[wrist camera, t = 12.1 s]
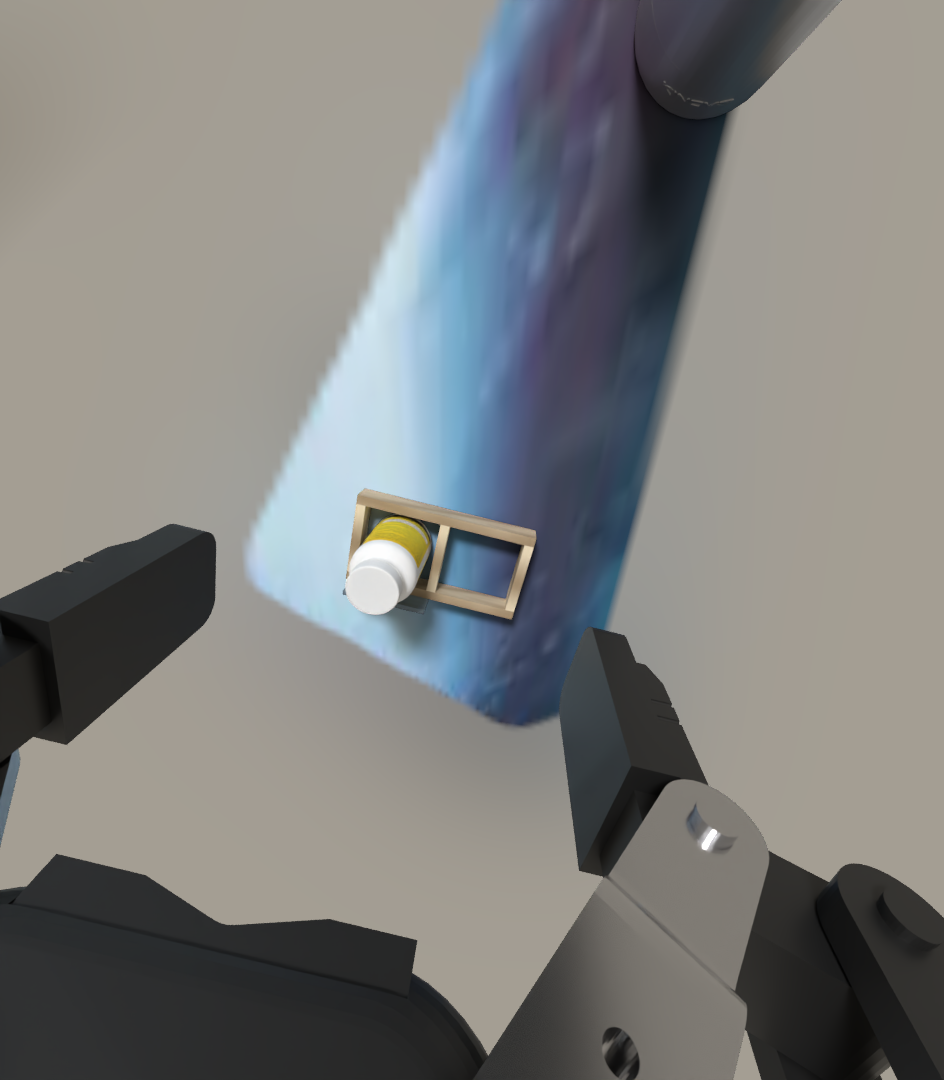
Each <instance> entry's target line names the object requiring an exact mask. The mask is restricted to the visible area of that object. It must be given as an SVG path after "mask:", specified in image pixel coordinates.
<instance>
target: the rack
mask: <svg viewBox="0 0 944 1080" xmlns="http://www.w3.org/2000/svg"><path fill="white" fill-rule="evenodd" d="M371 508H375V509H379V510H383V511H388V512H392V513H396V514H400V515H404V516H408V517H412V518H416V519H420V520H424V521H428V522H432V523H436V524H440V530H439V534H438V539H437V543H436V548H435V553H434V557H433V562H432V566H431V571H430V576H429V580H426V579H422V578H419V579H418V581H417V584H416V586H415V588H414V590H413V591H412V593H411V594H410V595H409V596H408V597H407V598H406V599H404V600H402V601H400V602H398V603H397V604H396V606H395V607H396V608H400V609H404V610H408V611H412V612H416V613H420V614H424V611H425V609H426V606H427V603H428V600H429V599H430V600H434V601H438V602H442V603H446V604H450V605H455V606H459V607H463V608H467V609H471V610H475V611H479V612H483V613H487V614H491V615H495V616H499V617H503V618H508V619H512V617H513V613H514V610H515V607H516V604H517V600H518V597H519V594H520V591H521V587H522V584H523V581H524V578H525V574H526V571H527V568H528V565H529V561H530V558H531V555H532V552H533V549H534V545H535V542H536V531H535V530H531V529H527V528H523V527H519V526H515V525H511V524H506V523H502V522H498V521H494V520H490V519H486V518H482V517H478V516H474V515H470V514H466V513H462V512H458V511H454V510H450V509H446V508H442V507H438V506H434V505H430V504H425V503H421V502H417V501H413V500H409V499H405V498H401V497H397V496H393V495H389V494H385V493H381V492H377V491H373V490H369V489H364V490H363V491H361V492H360V493H359V494H358V496H357V503H356V510H355V517H354V524H353V532H352V539H351V546H350V553H349V560H348V567H347V574H346V579H347V578H348V576H349V565H350V561H351V558H352V556H353V555H354V553H355V552H356V550H357V549H358V548H359V546H360V545H361V544H362V543H363V542H364V540H365V539H366V537H367V531H368V524H369V518H370V511H371ZM451 527H452V528H456V529H461V530H465V531H469V532H473V533H477V534H481V535H485V536H489V537H493V538H497V539H501V540H505V541H509V542H513V543H517V544H521V545H522V546H521V549H520V552H519V556H518V559H517V562H516V566H515V569H514V573H513V576H512V579H511V583H510V586H509V589H508V593H507V596H506V599H503V598H499V597H495V596H491V595H487V594H483V593H479V592H475V591H471V590H467V589H463V588H459V587H454V586H450V585H446V584H442V583H438V581H439V577H440V573H441V568H442V564H443V560H444V555H445V551H446V546H447V542H448V538H449V533H450V529H451ZM343 595H346V591H345V589H344V590H343Z"/></svg>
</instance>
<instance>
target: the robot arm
mask: <svg viewBox="0 0 944 1080" xmlns="http://www.w3.org/2000/svg"><path fill="white" fill-rule="evenodd" d="M841 1H842V0H640V4H639V7H638V11H637V17H636V25H635V34H634V36H635V55H636V60H637V64H638V68H639V73H640V75H641V77H642V80H643V82H644V84H645V86H646V88H647V90H648V91H649V93H650V94H651V95H652V97H653V98H654V99H655V101H656V102H657V103H658V104H660V105H661V106H662V107H663V108H665V109H666V110H667V111H668V112H670V113H673V114H675V115H678V116H680V117H683V118H689V119H698V120H699V119H706V118H713V117H717V116H719V115H722V114H724V113H727V112H729V111H731V110H733V109H735V108H736V107H738V106H739V105H741V104H742V103H744V102H745V101H747V100H748V99H749V98H750V97H751V96H752V95H753V94H754V93H755V92H756V91H757V90H758V89H759V88H760V87H761V86H762V85H763V84H764V83H765V82H766V81H767V80H768V79H769V78H770V77H771V76H772V75H773V73H774V72H775V71H776V70H777V69H778V68H779V67H780V66H781V65H782V64H783V63H784V62H785V61H786V60H787V58H788V57H789V56H790V55H791V54H792V53H793V52H794V51H795V50H796V49H797V48H798V47H799V46H800V45H801V44H802V43H803V42H804V41H805V40H806V38H807V37H808V36H809V35H810V34H811V33H812V32H813V31H814V30H815V28H817V26H818V25H819V24H820V23H821V22H822V21H823V20H824V19H825V18H826V17H827V16H828V15H829V13H830V12H831V11H832V10H833V9H834V8H835V7H836V6H837V5H838V4H839V3H840V2H841ZM215 570H216V541H215V538H214V536H213V535H212V534H211V533H209V532H205V531H201V530H197V529H193V528H189V527H185V526H181V525H177V524H169V525H167V526H165V527H163V528H161V529H159V530H157V531H155V532H153V533H151V534H149V535H147V536H145V537H143V538H141V539H139V540H136V541H132V542H127V543H124V544H119V545H115V546H111V547H107V548H105V549H103V550H101V551H99V552H97V553H95V554H93V555H91V556H89V557H87V558H84V560H83V562H80V561H78V562H76V563H74V564H72V565H70V566H68V567H66V568H63V571H62V572H55V573H53V574H51V575H49V576H47V577H45V578H43V579H40V580H39V581H36V582H34V583H32V584H30V585H28V586H26V587H24V588H22V589H19V590H17V591H15V592H13V593H11V594H9V595H7V596H5V597H3V598H1V599H0V845H1V841H2V837H3V833H4V829H5V825H6V820H7V817H8V812H9V808H10V804H11V800H12V796H13V791H14V787H15V783H16V779H17V775H18V771H19V766H20V754H19V750H18V748H19V747H21V746H22V745H23V744H24V743H26V742H27V741H28V740H29V739H31V738H32V737H36V738H40V739H45V740H49V741H53V742H57V743H61V744H65V745H67V744H68V743H69V742H70V741H72V740H73V739H74V738H75V737H76V736H77V735H78V734H80V733H81V732H82V731H83V730H84V729H85V728H86V727H88V726H89V725H90V724H91V723H92V722H93V721H94V720H96V719H97V718H98V717H99V716H100V715H101V714H102V713H104V712H105V711H106V710H107V709H108V708H109V707H110V706H112V705H113V704H114V703H115V702H116V701H117V700H118V699H120V698H121V697H122V696H123V695H124V694H125V693H126V692H128V691H129V690H130V689H131V688H132V687H133V686H134V685H136V684H137V683H138V682H139V681H140V680H141V679H142V678H144V677H145V676H146V675H147V674H148V673H149V672H150V671H151V670H153V669H154V668H155V667H156V666H157V665H158V664H160V663H161V662H162V661H163V660H164V659H165V658H166V657H167V656H169V655H170V654H171V653H172V652H173V651H174V650H176V649H177V648H178V647H179V646H180V645H181V644H182V643H183V642H185V641H186V640H187V639H188V638H189V637H190V636H191V635H193V634H194V633H195V632H196V631H197V630H198V629H200V628H201V627H202V626H203V625H204V623H205V622H206V621H207V619H208V618H209V616H210V614H211V612H212V609H213V606H214V602H215V575H216V571H215ZM671 705H672V703H671V701H670V699H669V696H668V694H667V692H666V690H665V688H664V685H663V684H662V682H660V680H659V679H658V678H657V677H656V676H655V675H654V674H653V673H652V671H651V670H650V669H649V668H648V667H647V666H646V665H644V664H640V663H636V661H635V659H634V656H633V653H632V651H631V648H630V646H629V643H628V641H627V639H626V637H625V636H624V635H621V634H617V633H613V632H609V631H605V630H601V629H597V628H593V627H588V628H587V629H586V630H585V631H584V633H583V635H582V638H581V640H580V643H579V646H578V648H577V651H576V653H575V656H574V659H573V661H572V664H571V666H570V669H569V672H568V674H567V677H566V679H565V682H564V685H563V688H562V692H561V697H560V706H559V714H560V723H561V731H562V739H563V747H564V755H565V762H566V770H567V778H568V786H569V794H570V802H571V809H572V818H573V826H574V833H575V842H576V850H577V857H578V866H579V871H582V872H586V873H591V874H595V875H599V876H603V880H602V881H601V883H600V884H599V886H598V887H597V889H596V890H595V892H594V893H593V895H592V897H591V898H590V899H589V901H588V903H587V904H586V906H585V907H584V909H583V910H582V912H581V914H580V915H579V916H578V918H577V920H576V921H575V923H574V924H573V926H572V927H571V929H570V930H569V932H568V933H567V935H566V937H565V938H564V940H563V941H562V943H561V944H560V946H559V947H558V949H557V950H556V952H555V954H554V955H553V957H552V958H551V960H550V962H549V963H548V964H547V966H546V968H545V969H544V971H543V972H542V974H541V975H540V977H539V978H538V980H537V982H536V983H535V985H534V986H533V988H532V989H531V991H530V992H529V994H528V995H527V997H526V999H525V1000H524V1002H523V1003H522V1005H521V1006H520V1008H519V1009H518V1011H517V1012H516V1014H515V1016H514V1017H513V1019H512V1020H511V1022H510V1023H509V1025H508V1026H507V1028H506V1030H505V1031H504V1033H503V1034H502V1036H501V1037H500V1039H499V1040H498V1042H497V1044H496V1045H495V1046H494V1048H493V1050H492V1051H491V1053H490V1054H489V1056H488V1055H487V1053H486V1051H485V1049H484V1048H483V1046H482V1044H481V1042H480V1041H479V1040H478V1038H477V1037H476V1035H475V1034H474V1033H473V1031H472V1029H471V1028H470V1027H469V1025H468V1024H467V1022H466V1021H465V1019H464V1018H463V1017H462V1016H461V1015H460V1014H459V1013H458V1012H457V1010H456V1009H455V1008H454V1007H453V1006H452V1005H451V1004H450V1003H449V1001H448V1000H447V999H446V998H444V997H443V996H442V995H441V994H440V993H439V992H437V991H436V990H435V989H434V988H433V987H432V986H430V985H429V984H428V983H427V982H425V981H423V980H422V979H420V978H419V977H417V976H416V975H414V974H413V973H412V969H413V962H414V957H415V950H416V945H417V940H414V939H410V938H405V937H402V936H397V935H393V934H389V933H385V932H380V931H377V930H372V929H368V928H363V927H360V926H356V925H351V924H347V923H343V922H339V921H335V920H331V919H326V920H325V919H324V920H310V921H309V920H308V921H295V922H294V921H292V922H277V923H261V924H246V925H225V924H221V923H219V922H217V921H215V920H213V919H211V918H210V917H208V916H207V915H205V914H204V913H202V912H201V911H199V910H198V909H196V908H195V907H193V906H191V905H190V904H189V903H187V902H186V901H184V900H182V899H181V898H179V897H178V896H176V895H175V894H173V893H172V892H170V891H168V890H167V889H166V888H164V887H163V886H161V885H160V884H158V883H156V882H155V881H153V880H152V879H150V878H149V877H147V876H146V875H142V874H138V873H134V872H130V871H126V870H121V869H117V868H113V867H108V866H105V865H100V864H96V863H92V862H88V861H83V860H80V859H75V858H71V857H67V856H63V855H58V854H56V855H55V856H54V857H53V858H52V859H51V861H50V862H49V863H48V864H47V865H46V866H45V867H44V868H43V869H42V870H41V871H40V873H39V874H38V875H37V876H36V877H35V878H34V879H33V880H32V881H31V883H30V884H29V885H28V886H27V887H17V888H11V889H5V890H0V1080H733V1078H734V1074H735V1069H736V1065H737V1061H738V1057H739V1053H740V1048H741V1044H742V1040H743V1036H744V1031H745V1030H746V1031H747V1033H748V1036H749V1040H750V1043H751V1046H752V1050H753V1053H754V1056H755V1060H756V1063H757V1066H758V1070H759V1073H760V1076H761V1079H762V1080H882V1078H881V1076H880V1074H882V1073H883V1072H884V1071H885V1070H886V1069H888V1068H889V1067H890V1066H891V1067H892V1069H893V1071H894V1073H895V1076H896V1077H897V1079H898V1080H944V918H943V917H942V916H941V915H940V914H939V913H938V912H937V911H936V910H935V909H933V907H932V906H931V905H930V904H928V903H927V902H926V901H925V900H924V899H923V898H922V897H920V896H919V895H918V894H916V893H915V892H914V891H913V890H911V889H910V888H909V887H907V886H906V885H904V884H903V883H901V882H900V881H898V880H897V879H895V878H893V877H891V876H890V875H888V874H886V873H884V872H882V871H880V870H878V869H875V868H872V867H870V866H866V865H862V864H848V865H845V866H843V867H842V868H841V869H840V870H839V871H838V872H837V874H836V875H835V876H834V877H833V878H832V880H831V881H830V882H827V881H825V880H823V879H822V878H819V877H818V876H816V875H814V874H812V873H810V872H807V871H806V870H804V869H802V868H800V867H798V866H796V865H794V864H792V863H791V862H789V861H787V860H785V859H783V858H781V857H779V856H777V855H775V854H773V853H772V852H770V851H768V848H767V845H766V842H765V840H764V838H763V836H762V834H761V832H760V831H759V829H758V828H757V826H756V825H755V823H754V822H753V821H752V820H751V819H750V817H749V816H748V815H747V814H746V813H745V812H744V811H743V810H742V809H741V808H740V807H739V806H738V805H737V804H736V803H735V802H733V801H732V800H731V799H730V798H728V797H727V796H726V795H724V794H722V793H721V792H719V791H718V790H716V789H714V788H712V787H710V786H708V783H707V781H706V779H705V776H704V774H703V772H702V770H701V767H700V765H699V763H698V761H697V759H696V757H695V754H694V752H693V750H692V747H691V745H690V743H689V741H688V739H687V737H686V734H685V732H684V730H683V727H682V725H679V719H678V717H677V714H676V712H675V710H674V708H672V707H671Z"/></svg>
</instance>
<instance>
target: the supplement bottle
mask: <svg viewBox="0 0 944 1080" xmlns="http://www.w3.org/2000/svg"><path fill="white" fill-rule="evenodd" d="M431 546H432V541H431V536H430V533H429V531H428V529H427V527H426V526H425V525H424V524H423V523H422V522H421V521H420V520H418V519H416V518H412V517H408V516H404V515H400V514H393V515H390V516H387V517H385V518H384V519H383V520H381V521H380V522H379V523H378V524H377V526H376V527H375V528H374V529H373V530H372V532H371V533H370V534H369V535H368V537H367V538H366V539H365V540H364V542H363V543H362V544H361V545H360V546H359V548H358V549H357V550H356V552H355V553H354V555H353V556H352V558H351V561H350V565H349V576H348V578H347V580H346V584H345V591H346V595H347V597H348V599H349V601H350V602H351V604H352V605H353V606H354V607H355V608H357V609H358V610H360V611H362V612H364V613H366V614H371V615H380V614H384V613H387V612H389V611H390V610H392V609H393V608H394V607H395V606H396V604H397V603H398V602H400V601H402V600H404V599H406V598H407V597H408V596H409V595H410V594H411V593H412V591H413V590H414V588H415V586H416V584H417V581H418V579H419V577H420V575H421V572H422V570H423V568H424V566H425V563H426V561H427V559H428V557H429V554H430V551H431Z"/></svg>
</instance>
